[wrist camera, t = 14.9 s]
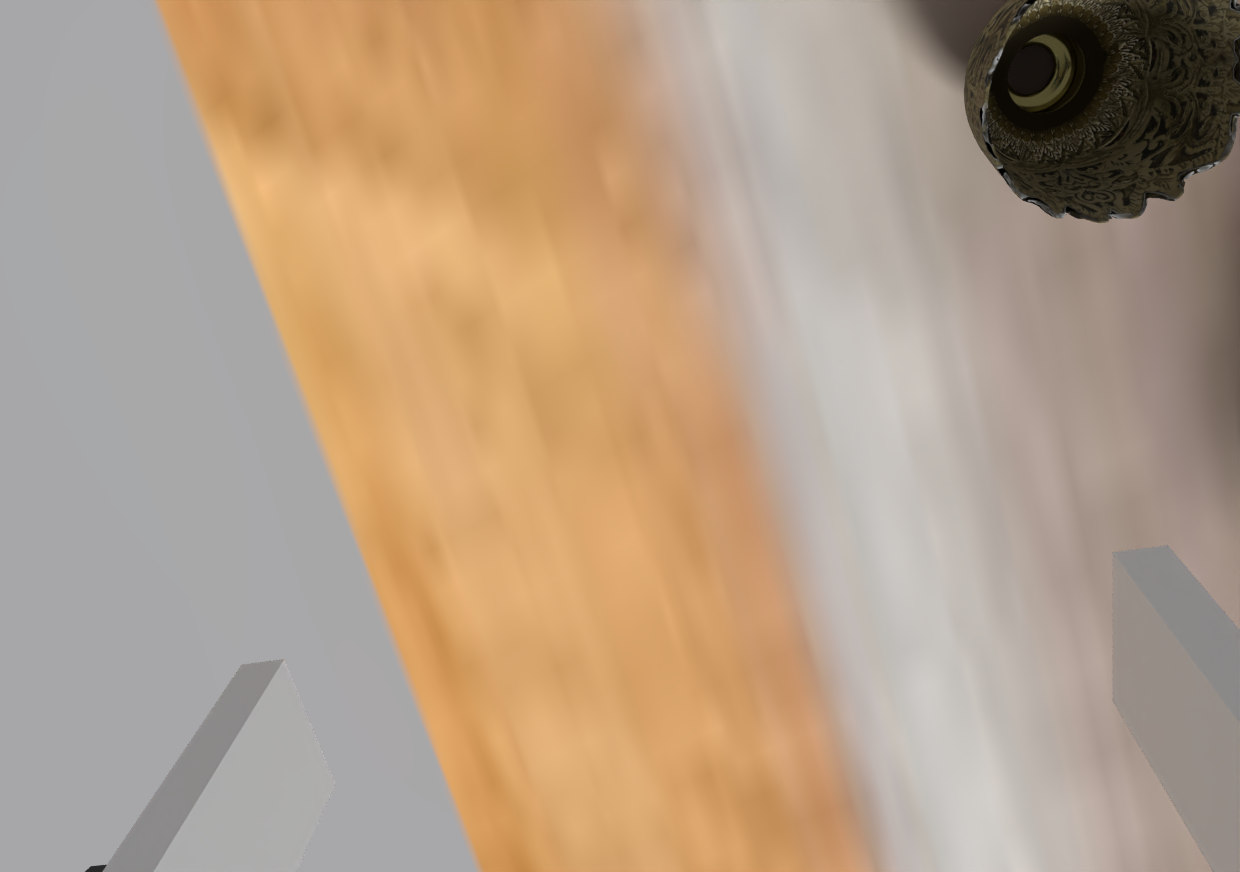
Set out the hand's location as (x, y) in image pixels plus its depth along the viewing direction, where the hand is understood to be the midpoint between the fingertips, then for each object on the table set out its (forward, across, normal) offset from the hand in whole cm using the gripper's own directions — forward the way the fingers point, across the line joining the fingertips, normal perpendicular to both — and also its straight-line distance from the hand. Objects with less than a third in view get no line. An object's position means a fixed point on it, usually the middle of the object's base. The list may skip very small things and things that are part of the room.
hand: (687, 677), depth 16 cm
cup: (+26, -13, -5) cm, 29 cm away
